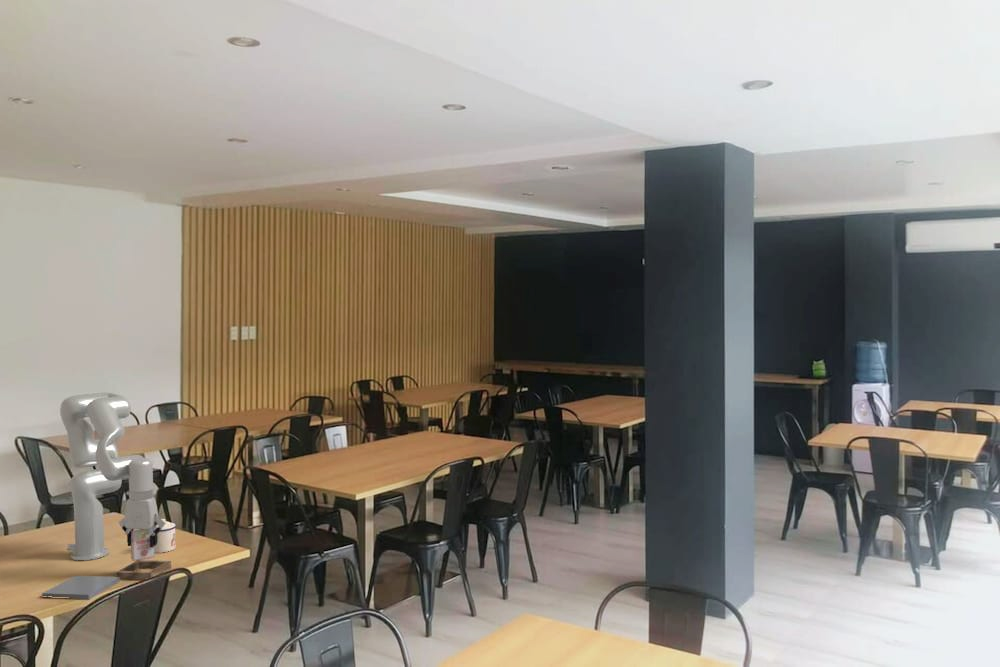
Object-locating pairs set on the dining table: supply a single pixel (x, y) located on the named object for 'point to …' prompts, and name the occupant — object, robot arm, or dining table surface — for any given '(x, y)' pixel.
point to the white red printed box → (141, 545)
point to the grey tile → (82, 587)
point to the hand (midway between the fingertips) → (142, 545)
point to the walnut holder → (130, 571)
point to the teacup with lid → (166, 538)
